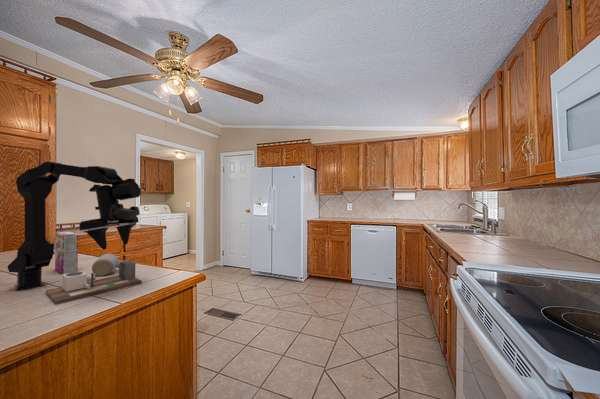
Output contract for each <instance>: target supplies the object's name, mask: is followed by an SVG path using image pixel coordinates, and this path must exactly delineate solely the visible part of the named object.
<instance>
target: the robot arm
mask: <svg viewBox="0 0 600 399" xmlns="http://www.w3.org/2000/svg"><path fill="white" fill-rule="evenodd" d="M61 175H63V176H70V177H71V176H72V177H77V178H82V179H84V180H86V181H89V182H91V183H94V184H93V186H92V187H91V188H90V189H89V190H88V191H89V192H91V193H92V192H93V193H95V194H96V200H97V206H94V208H95V211H99V217H100V218H94V219H89V220H81V221H80V223H79V224H78V226H79V231H83V233H84V234H85V233H87V235H89V237H91V238H92V239H93V241H94V242H95V243H96V244H97V245H98V246H99V247H100V248H101V250H106V249H107V246H108V245H107V236H106V233H107V231H108V229H109V226H112V225H117V226H116V230H117V232H118V234H119V236H120V239H121V241H122V244H123V245H127V244H128V243H129V240H130V235H131V231H132V228H133V227H134V226H136V225H137V223H139V217H138V216H140V209H139V206H130V207H129V208H125V207H124V205H123V203H120V202H119V200H120V201H125V200H129V199H130V200H131V199H135V198H136V199H137V198H139V197H140V196H141V194H142V190H141V187H140V186H139V184H138V183H137V182H136V181H135V178H126V179H123V178H122V177H121V176H120V175H119V174H118V172H117V171H116V169H115V168H112V167H104V166H100V165H99V166H98V165H94V166H93V165H92V166H91V165H90V166H79V165H70V164H65V163H64V164H63V163H62V162H55V161H44V162H42V163H41V164H40V165H38V166H35V167H33V168H30V169H27V170H25V171H24V172H23V173H22V174H20V175H19V176H17V177H16V180H15V182H16V188H17V189H16V190H17V192H18V193H19V195H20V196H21V197H22V198H23V199H24V241H22V243H21V245H20V246H19V247H18V249H17V252H16V257H15V258H14V260H12V261H11V262H10V263H9V264H8V265H7V270H8V272H9V273H16V275H17V276H16V277H17V278H16V284H15V285H13V287H14V290H16V291H17V292H18V291H23V290H27V289H28V290H29V289H32V288H38V287H43V286H45V283H44V282H43V281H42V276H43V275H42V274H43V273H42V270H43V269H42V268H45V267H49V266H50V263H51V261H52V260H53V256H54V255H55V243H53V242H52V243H50V242H49V241H48V240H47V236H46V235H47V234H46V227H47V226H46V199H47V198H48V197H49V195H50V194H51V193H52V189H53V186H54V185H55V184H56V183H58V182H59V181H60V180H59V179H60V176H61ZM101 184H102V185H101ZM106 226H108V227H106Z"/></svg>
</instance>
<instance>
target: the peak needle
mask: <svg viewBox="0 0 600 399" xmlns="http://www.w3.org/2000/svg"><path fill="white" fill-rule="evenodd" d="M93 275H94V273H93V272H91V275H90V276H91V288H92V287H94V285H93Z"/></svg>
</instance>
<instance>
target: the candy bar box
mask: <svg viewBox="0 0 600 399" xmlns="http://www.w3.org/2000/svg"><path fill="white" fill-rule="evenodd" d="M78 236H79V235H78V233H75V232H72V231H61V232H54V253H55V254H54V271H56V272H57V273H59V274H61V275H62V274H67V273H73V272H78V271H79V270H78V264H79V263H78V254H79V253H78V252H79V251H78V250H79V249H78V246H79V245H78V244H79V243H78V241H79V240H78Z"/></svg>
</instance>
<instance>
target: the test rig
mask: <svg viewBox="0 0 600 399" xmlns="http://www.w3.org/2000/svg"><path fill="white" fill-rule="evenodd" d="M136 266H137V265H136V262H134V261H131V260H128V259H126V260H119V268H118V269H119V273H118V274H117V275H114V276H109V277H103V278H99V279H98V278H97V279H95V280H93V285H94V287H92V288H91V281H87V284H89V285H90V288H88V289H87V288H82V289H77V290H73V291H68V292H66V291H65V290H64V289H63V288H62V286H60V287H55V288H51V289H45V294H46V296H47V297H48V298H49V299H50V300H51V301H52V303H53V304H54V305H58V304H62V303H67V302H71V301H76V300H79V299H84V298H87V297H91V296H95V295H99V294H104V293H108V292H113V291H117V290H120V289H124V288H128V287H129V288H130V287H132V286H136V285H137V286H138V285H141V284H142V283H143V280H141V279H139V278H137V277H136Z"/></svg>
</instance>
